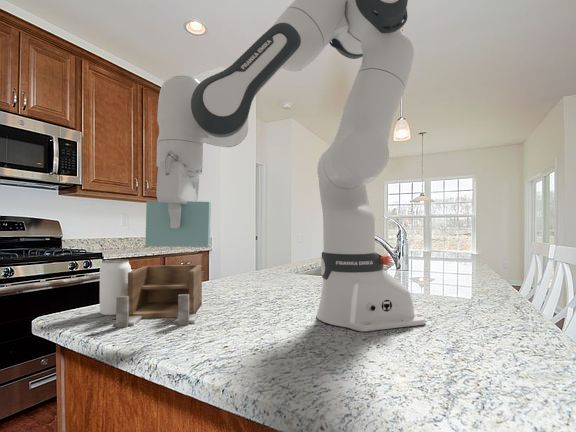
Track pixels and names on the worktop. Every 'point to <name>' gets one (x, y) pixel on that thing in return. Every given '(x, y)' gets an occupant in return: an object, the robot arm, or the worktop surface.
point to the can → (113, 284)
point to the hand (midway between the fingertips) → (178, 228)
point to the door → (178, 228)
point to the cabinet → (161, 294)
